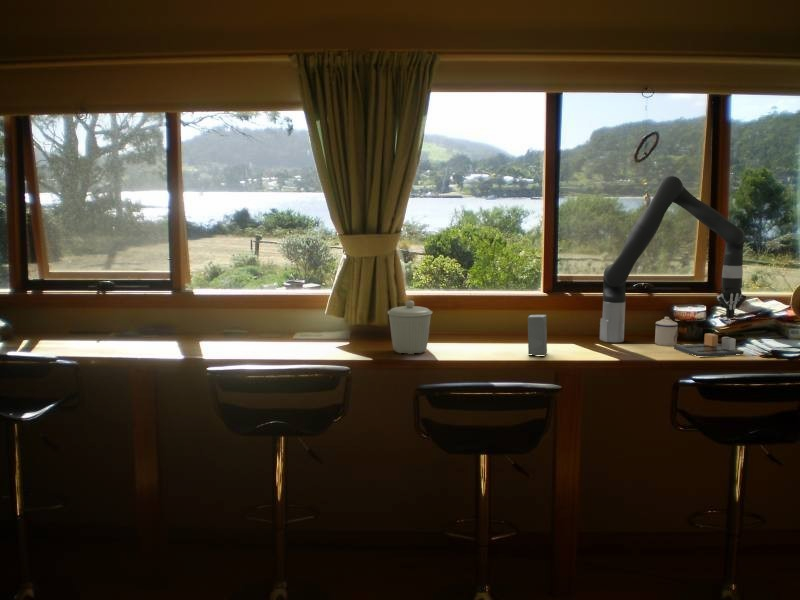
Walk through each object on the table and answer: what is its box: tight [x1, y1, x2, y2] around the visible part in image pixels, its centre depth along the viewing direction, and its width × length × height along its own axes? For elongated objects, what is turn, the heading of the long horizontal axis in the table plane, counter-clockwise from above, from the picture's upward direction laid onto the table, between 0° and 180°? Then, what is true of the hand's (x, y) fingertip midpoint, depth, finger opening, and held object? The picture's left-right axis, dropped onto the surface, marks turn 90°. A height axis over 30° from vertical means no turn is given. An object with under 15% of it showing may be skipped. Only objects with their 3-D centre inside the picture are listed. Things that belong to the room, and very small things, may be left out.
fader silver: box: [721, 336, 737, 350], centre depth 279 cm, size 3×5×5 cm, turn 13°
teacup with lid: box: [654, 316, 679, 347], centre depth 298 cm, size 12×9×12 cm
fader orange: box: [703, 332, 719, 346], centre depth 286 cm, size 3×5×5 cm, turn 13°
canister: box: [386, 300, 433, 355], centre depth 281 cm, size 18×18×21 cm
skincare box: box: [527, 314, 548, 356], centre depth 276 cm, size 8×7×16 cm
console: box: [673, 343, 745, 357], centre depth 282 cm, size 20×17×2 cm
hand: (729, 318), depth 286 cm, fingers closed
